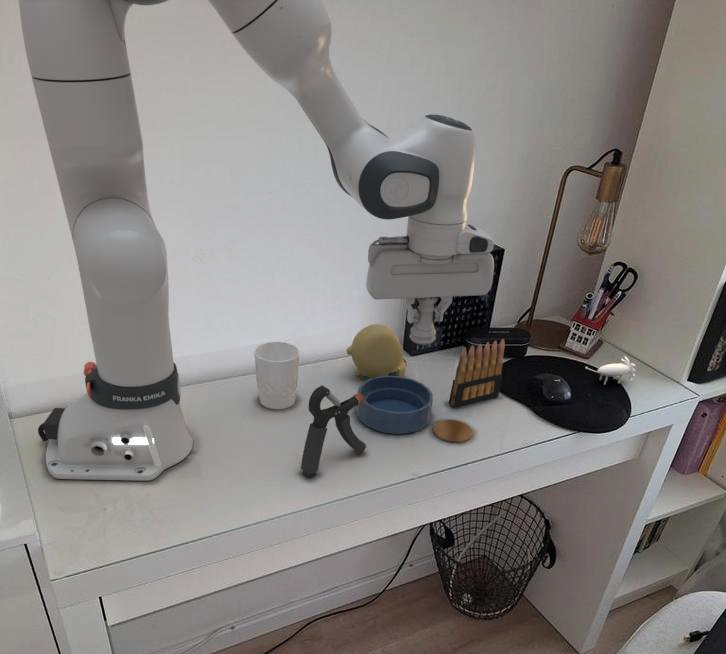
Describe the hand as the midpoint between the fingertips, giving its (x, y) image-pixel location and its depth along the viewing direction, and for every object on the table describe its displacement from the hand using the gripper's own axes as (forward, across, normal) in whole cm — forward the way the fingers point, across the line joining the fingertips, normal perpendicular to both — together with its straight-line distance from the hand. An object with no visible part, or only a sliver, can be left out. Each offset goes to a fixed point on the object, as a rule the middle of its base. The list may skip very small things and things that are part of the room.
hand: (424, 321), depth 112 cm
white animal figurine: (+20, +44, +8) cm, 49 cm away
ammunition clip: (+19, +14, +5) cm, 24 cm away
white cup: (+19, -23, +10) cm, 32 cm away
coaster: (+19, +6, -5) cm, 21 cm away
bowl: (+19, -3, +2) cm, 19 cm away
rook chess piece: (+4, 0, 0) cm, 4 cm away
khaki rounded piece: (+19, -2, +17) cm, 26 cm away
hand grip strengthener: (+19, -17, -11) cm, 28 cm away
